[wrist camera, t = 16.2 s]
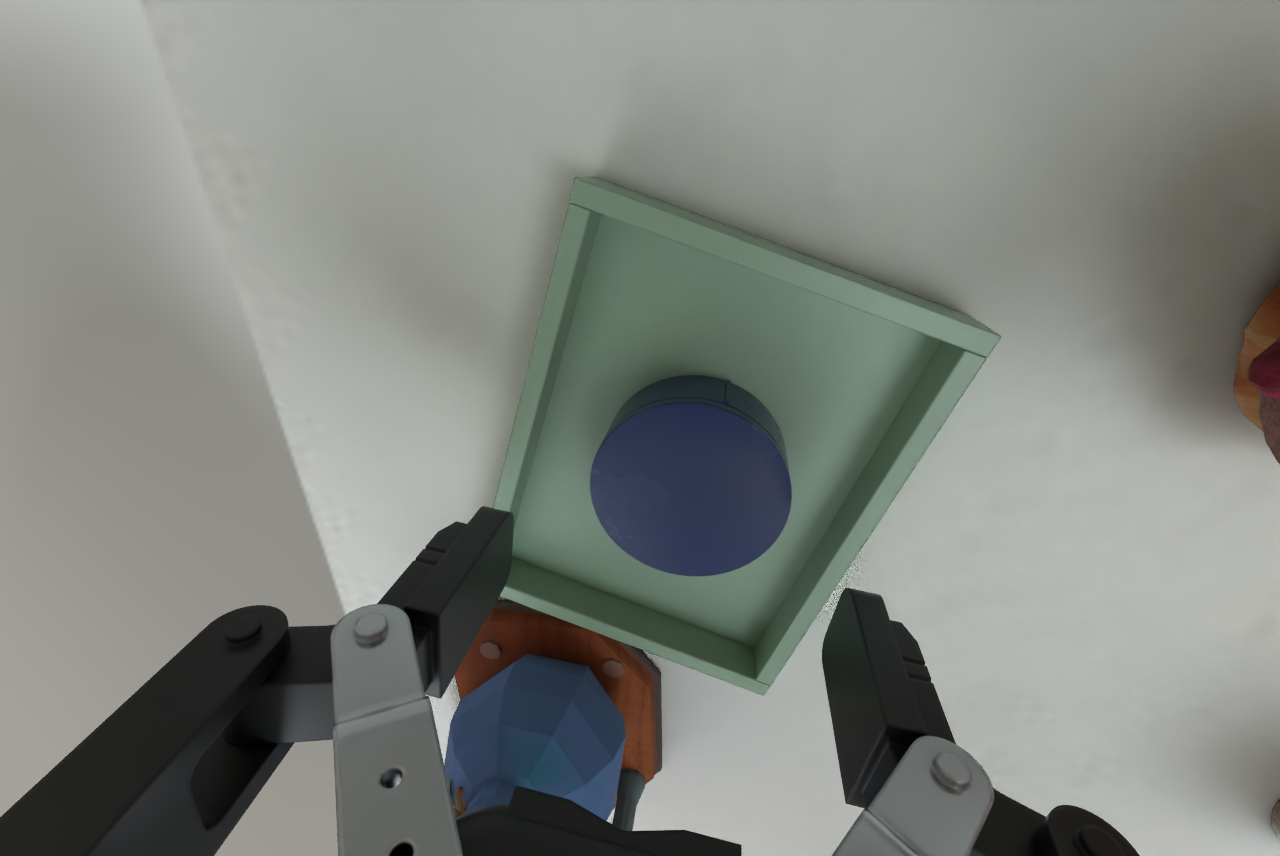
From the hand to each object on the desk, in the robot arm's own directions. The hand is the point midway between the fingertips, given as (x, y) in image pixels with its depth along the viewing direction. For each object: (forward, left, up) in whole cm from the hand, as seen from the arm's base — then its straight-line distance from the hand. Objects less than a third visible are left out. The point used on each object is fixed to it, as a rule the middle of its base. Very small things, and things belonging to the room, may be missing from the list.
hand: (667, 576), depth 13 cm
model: (-14, +1, -6) cm, 15 cm away
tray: (0, 0, -6) cm, 6 cm away
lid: (0, 0, -4) cm, 4 cm away
